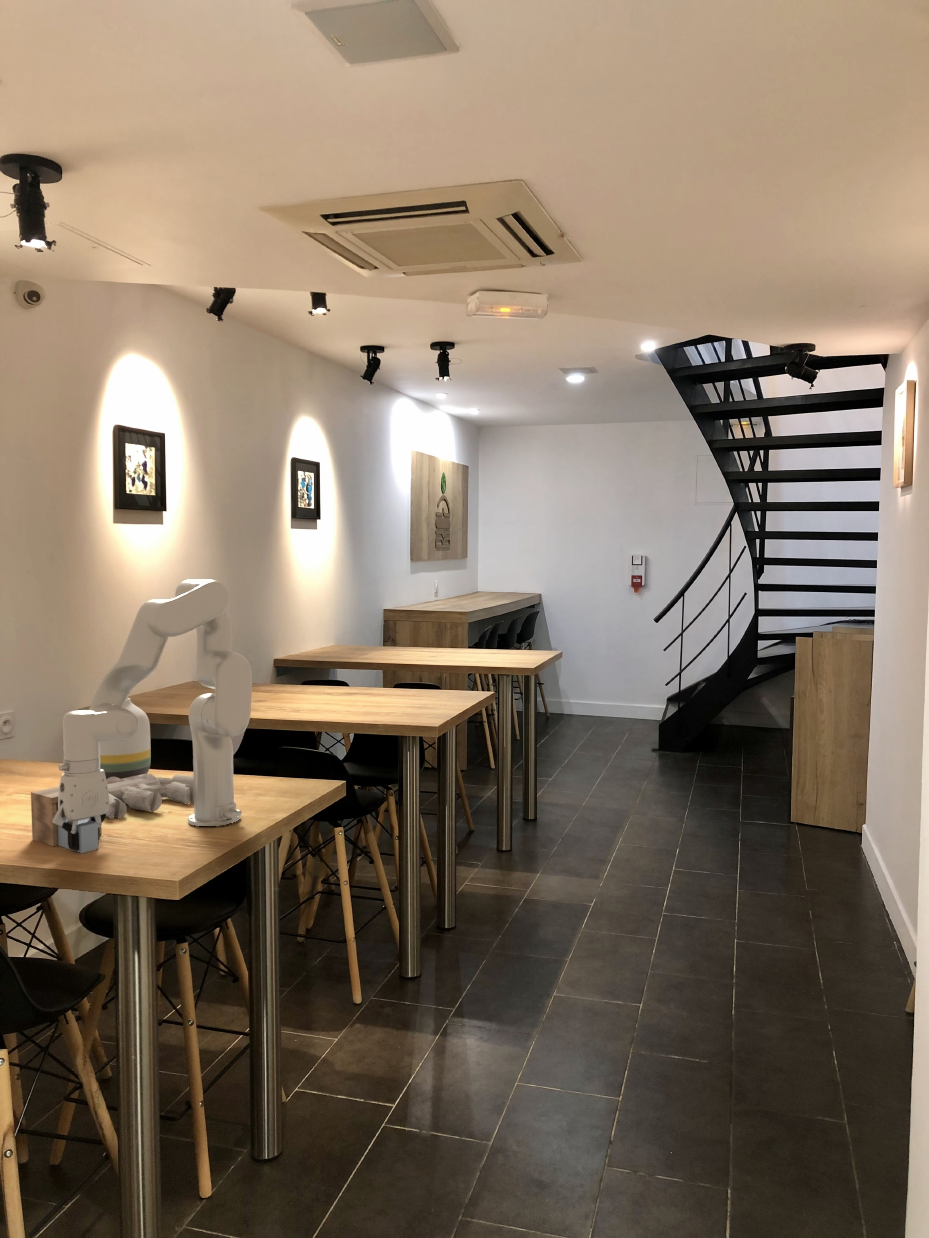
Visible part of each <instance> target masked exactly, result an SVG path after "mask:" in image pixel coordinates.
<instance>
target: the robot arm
mask: <svg viewBox="0 0 929 1238" xmlns="http://www.w3.org/2000/svg"><path fill="white" fill-rule="evenodd" d="M174 595H175V596H174V597H175V598H174V597H173V598H170V599H150V600H148V601H145V602H144V603H143V604H142V605H141V606H140V607H139V609H138V610H137V613H136V616H135V618H134V621H133V623H132V626H131V628H130V631H129V634H128V635H127V639H126V641H125V644H124V646H123V647H122V651H121V652H120V655H119V657H118V659H117V660H116V662H115V663H114V664H113V665H112V667H111V668H110V669H109V671H108V672H107V673H106V675H105V676H104V677H103V678H102V679H101V682H100V683H99V685H98V687H97V689H96V691H95V692H94V695H93V697H92V698H93V699H92V700H91V704H90V706H89V708H88V709H77V710H71V711H68V712H66V713H65V714H64V715H63V717H62V736H63V738H62V740H63V744H62V746H63V747H62V748H63V760H62V764H59V765H58V770H59V771H60V772H63V773H61V776H60V779H59V780H60V781H59V794H58V811H57V813H56V815H55V817H54V818H53V820H52V822H53V823H54V824H56V825H58V826H61V827H62V828H63V829H64V830H65V831H66V832H68V846H69V849H68V850H70V849H72V850H71V851H73V850H75V851H74V852H76V851H78V850H79V833H77V825H78V820H81V819H85V818H89V819H90V820H91V821H94V822H97V823H98V846H99V844H100V839H101V837H100V836H101V834H100V832H99V827H101V828H102V825H103V823H104V821H105V820H106V818H107V816H108V815H109V814H110V813H111V812H112V811H113V808H112V807H111V805H110V804H109V794H108V786H107V780H106V776H105V772H104V770H103V769H100V741H124V740H127V739H129V738H131V737H132V736H133V735H134V734H135V733H136V731H137V729H138V724H139V723H138V719H137V717H136V715H135V714H134V713H133V712H132V711H130V710H128V709H125V708H123V705H124V702H125V700H126V698H128V697H129V695H130V692H131V691H132V690H133V689H134V688H135V687H136V686H137V685H138V684H139V683H140V682H142V681H143V680H146V679H147V678H149V677H150V676H151V675H152V674H154V673H155V671H156V670H157V668H158V667H159V666H158V665H159V663H160V660H161V657H162V655H163V652H164V650H165V648H166V644H167V643H168V640H169V638H174V637H176V638H177V637H179V636H182V635H185V634H187V633H189V632H191V631H193V630H195V629H196V630H195V631H196V655H195V656H196V657H195V658H196V659H195V677H196V679H197V682H198V683H199V684H201V686H204V687H206V688H209V689H213V690H214V693H204V694H200V695H198V696H197V697H196V698H195V699H194V700H193V701H192V703H191V704H190V706H189V709H188V724H189V727H190V728H189V729H190V733H191V739H192V740H191V741H192V756H193V757H192V765H193V766H192V768H193V776H194V804H193V808H194V813H192V814H190V815H189V816H188V818H187V822H188V824H189V825H191V826H194V825H195V826H194V827H199V826H216V827H219V826H218V825H224V826H226V825H225V824H229V823H232V822H235V823H237V822H239V821H240V820H241V818H240V817H241V816H242V810H240V809H237V803H236V802H235V797H234V796H235V795H234V794H235V793H234V790H235V787H234V785H235V784H234V749H233V741H232V738H234V737H238V736H240V735H241V734H242V733H244V731H246V729H247V727H248V725H249V723H250V719H251V712H252V696H253V693H252V692H253V690H252V688H253V673H252V668H251V665H250V663H249V661H248V660H247V658H246V656H244V655H242V654H240V653H238V652H235V651H234V650H233V644H234V643H233V641H234V639H233V627H232V626H233V625H232V620H231V618H230V615H229V613H228V611H227V609H228V607H229V606H230V603H231V592H230V590H229V587H227V586H226V584H224V583H223V582H221V581H218V580H215V579H199V578H196V579H194V578H193V579H186V580H183V581H182V582H180V583H179V584H178V585H177V586H176V589H175V593H174ZM62 818H66V822H65V821H63V820H62ZM239 819H240V820H239ZM238 820H239V821H238ZM236 821H237V822H236ZM232 824H233V823H232ZM229 825H230V824H229Z"/></svg>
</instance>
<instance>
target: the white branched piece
mask: <svg viewBox="0 0 929 1238" xmlns="http://www.w3.org/2000/svg"><path fill="white" fill-rule="evenodd" d="M107 786H108V794H109V804H110V805H111V807H112V808H113V811H112V812H111V813H110V814H109V815H108V816H106V818H109V819H110V820H114V818H115V817H116V818H118V819H122V818H124V817H125V816H126V814H127V811H128V810H127V809H128V807H129V808H131V809H133V810H139V811H140V810H141V811H146V812H147V811H149V812H157V811H158V810H159V809H160V807H161V806H162V802H163V801H162V800H163V799H162V798H167V799H168V800H170V801H174V802H177V803H181V804H184V803H186V804H185V805H189V804H188V803H190V804H191V803H193V802H194V775H189V774H187V775H186V774H174V775H173V777H172V778H169V777H157V776H155V775H154V774H152V773H149V772H148V773H147V774H141V775H137V776H132V777H128V778H123V779H120V778H117V777H110V778H108V779H107ZM127 805H128V807H127Z"/></svg>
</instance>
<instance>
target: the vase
mask: <svg viewBox="0 0 929 1238" xmlns="http://www.w3.org/2000/svg"><path fill="white" fill-rule="evenodd" d="M123 708H125V709H128V710H130V711H132V712H133V713H134V714H135V715H136V717H137V719H138V723H139V724H138V729H137V731H136V733H135V734H134V735H133V736H132V737H131V738H129V739H127V740H124V741H100V769H103V770H104V772H105V776H106V780H107V779H108V778H110V777H117V778H120V779H123V778H128V777H132V776H137V775H141V774H147V773H148V774H149V770H150V768H151V759H152V758H151V757H152V756H151V753H152V752H151V749H152V748H151V724H150V719H149V717H148V714H147V713H146V712H145V711H144V710H143V709H141V708H140V707H138V706H137V705H135V704H134V703H133V702H132V700H131V698H130V697H127V698H126V700H125V702H124V705H123Z"/></svg>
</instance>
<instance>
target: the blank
mask: <svg viewBox="0 0 929 1238" xmlns="http://www.w3.org/2000/svg"><path fill="white" fill-rule="evenodd" d="M62 820H63V821H65V822H66V818H62ZM77 833H79V850H78V851H77V853H79V852H80V853H79V854H85V853H88V852H92V851H96V849H97V850H99V845H98V823H97V822H94V821H91V820H87V819H81V820H78V825H77ZM57 842H58V846H59V847H61V846H62V848H64V849H66V850H67V849H68V850H70V849H69V846H68V832H66V831H65V830H64V829H63V828H62V827H61V826H58V825H57ZM70 851H72V852H73V851H74V852H76V851H75V850H72V849H71V850H70Z"/></svg>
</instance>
